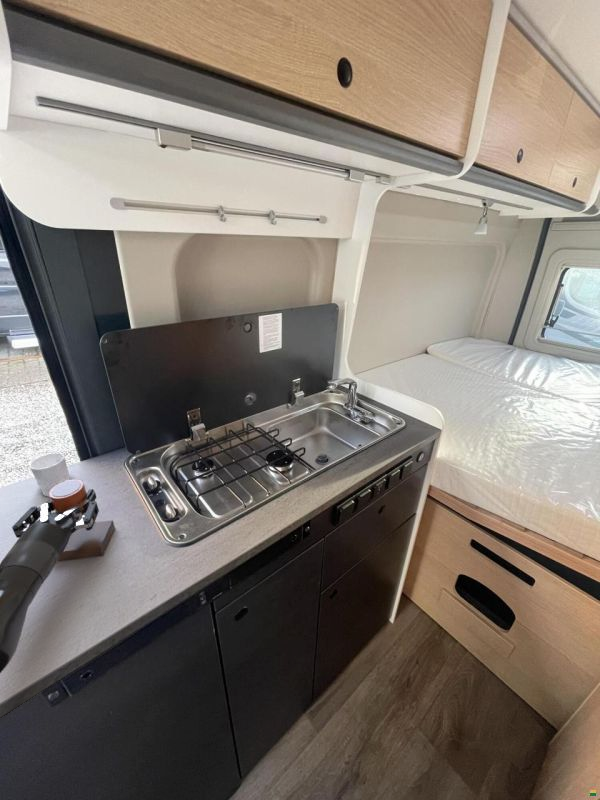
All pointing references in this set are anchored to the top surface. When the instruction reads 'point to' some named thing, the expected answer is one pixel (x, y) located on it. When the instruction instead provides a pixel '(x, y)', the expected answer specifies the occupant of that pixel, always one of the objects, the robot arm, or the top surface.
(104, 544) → the walnut block
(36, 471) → the white cup
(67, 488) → the canister
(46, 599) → the top surface
